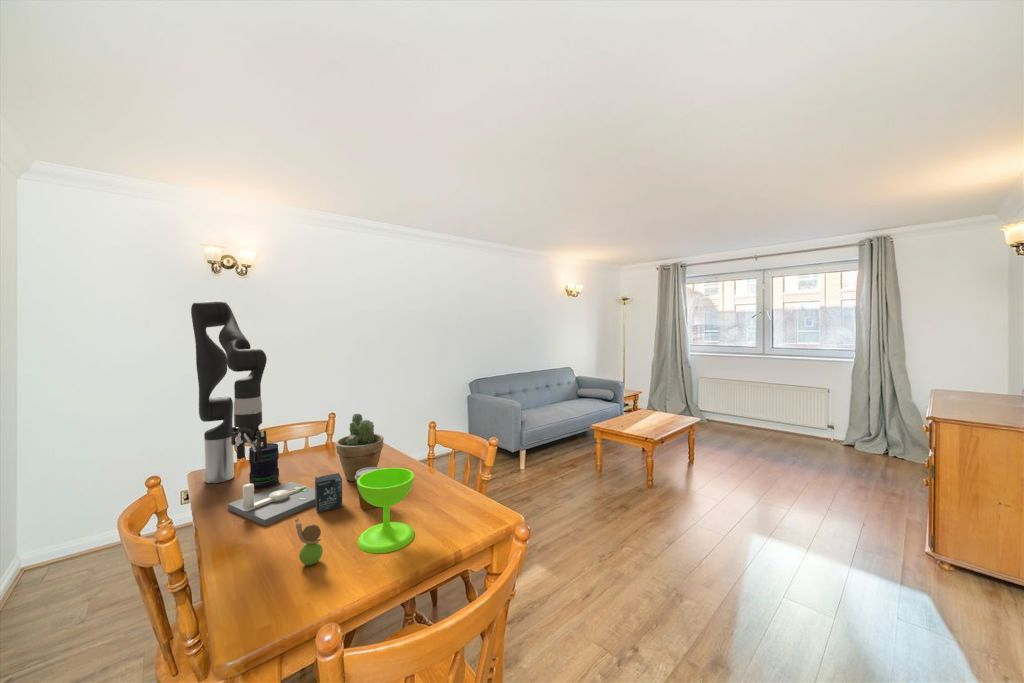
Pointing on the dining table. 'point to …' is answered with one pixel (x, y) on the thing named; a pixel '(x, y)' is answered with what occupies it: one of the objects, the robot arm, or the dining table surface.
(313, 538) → the snail figurine
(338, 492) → the box
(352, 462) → the potted plant
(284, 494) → the tuning crank
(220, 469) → the robot arm
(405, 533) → the wineglass
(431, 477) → the dining table surface
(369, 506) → the disposable coffee cup
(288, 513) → the dial board
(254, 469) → the storage jar
